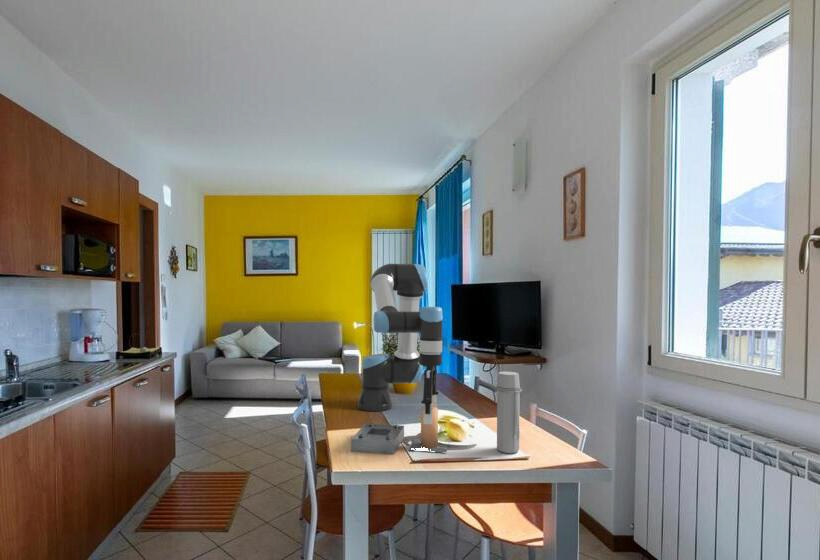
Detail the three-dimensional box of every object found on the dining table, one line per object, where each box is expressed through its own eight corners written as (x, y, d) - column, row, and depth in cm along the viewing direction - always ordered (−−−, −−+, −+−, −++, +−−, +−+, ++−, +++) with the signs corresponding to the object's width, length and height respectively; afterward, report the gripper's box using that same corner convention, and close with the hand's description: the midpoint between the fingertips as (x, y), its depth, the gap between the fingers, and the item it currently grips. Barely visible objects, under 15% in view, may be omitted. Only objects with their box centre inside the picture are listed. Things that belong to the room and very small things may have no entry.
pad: (414, 439, 159) (414, 438, 159) (449, 441, 157) (449, 440, 157) (408, 451, 147) (408, 449, 147) (446, 453, 145) (446, 452, 145)
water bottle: (491, 448, 151) (492, 371, 152) (511, 445, 154) (511, 370, 155) (508, 457, 142) (508, 376, 143) (528, 454, 145) (529, 375, 146)
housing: (365, 434, 164) (365, 421, 164) (404, 437, 162) (404, 423, 162) (351, 451, 146) (351, 436, 146) (394, 454, 144) (394, 439, 144)
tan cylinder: (421, 442, 155) (422, 403, 155) (438, 442, 154) (438, 404, 155) (419, 447, 150) (420, 407, 150) (437, 448, 149) (437, 408, 149)
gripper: (424, 348, 166) (423, 409, 165) (414, 357, 142) (413, 428, 141) (444, 349, 164) (444, 410, 164) (438, 358, 141) (437, 429, 140)
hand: (429, 418), depth 152 cm, fingers open, 11 cm apart
